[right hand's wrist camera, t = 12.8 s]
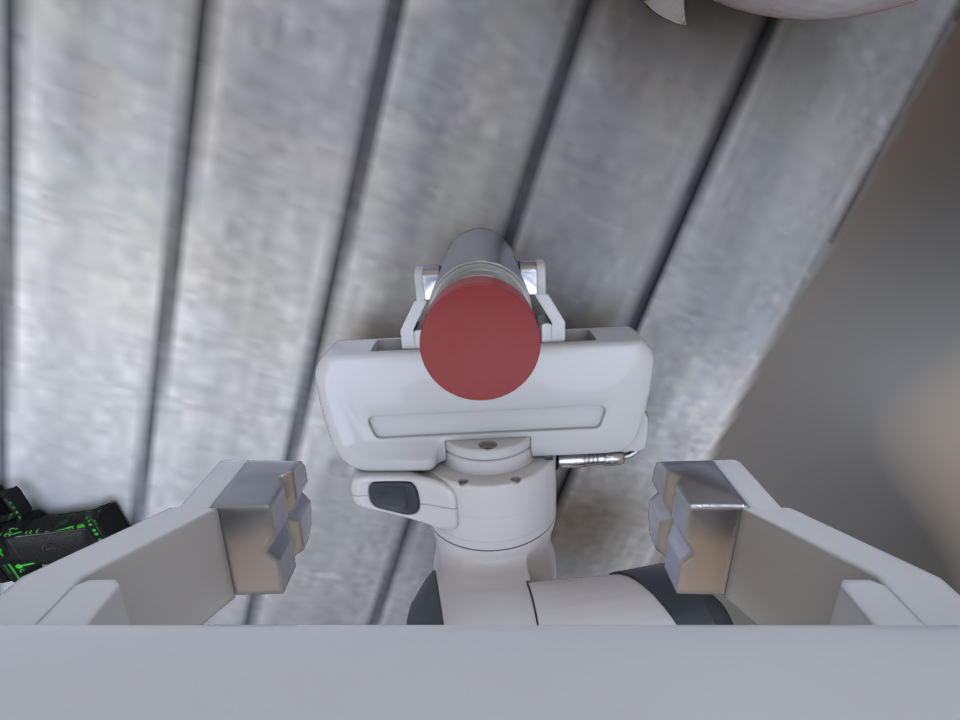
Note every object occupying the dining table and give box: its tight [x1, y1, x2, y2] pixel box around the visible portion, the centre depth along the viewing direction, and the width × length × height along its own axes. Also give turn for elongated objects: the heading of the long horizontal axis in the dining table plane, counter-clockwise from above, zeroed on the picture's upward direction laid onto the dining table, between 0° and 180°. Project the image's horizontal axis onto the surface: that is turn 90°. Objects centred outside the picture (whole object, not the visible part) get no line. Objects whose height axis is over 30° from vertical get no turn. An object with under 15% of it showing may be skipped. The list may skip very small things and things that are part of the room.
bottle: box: [428, 229, 532, 309], centre depth 27 cm, size 5×5×17 cm
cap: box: [420, 276, 541, 400], centre depth 20 cm, size 4×4×2 cm
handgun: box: [0, 486, 129, 583], centre depth 40 cm, size 16×3×15 cm
